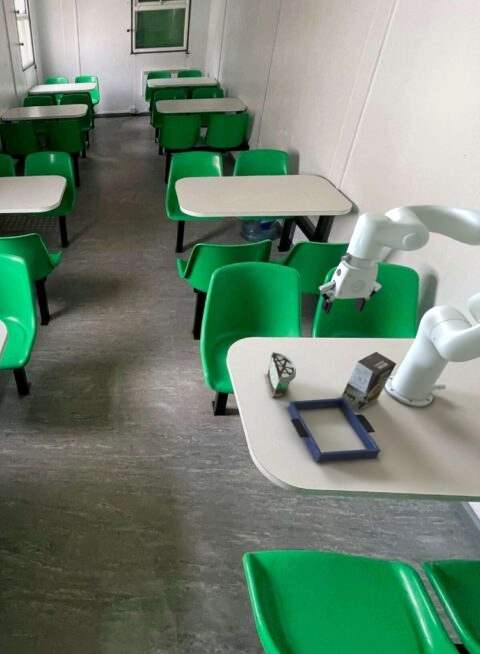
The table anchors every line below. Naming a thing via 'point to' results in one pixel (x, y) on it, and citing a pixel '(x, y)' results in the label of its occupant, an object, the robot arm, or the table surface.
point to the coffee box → (367, 380)
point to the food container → (280, 374)
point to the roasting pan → (356, 421)
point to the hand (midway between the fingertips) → (341, 310)
